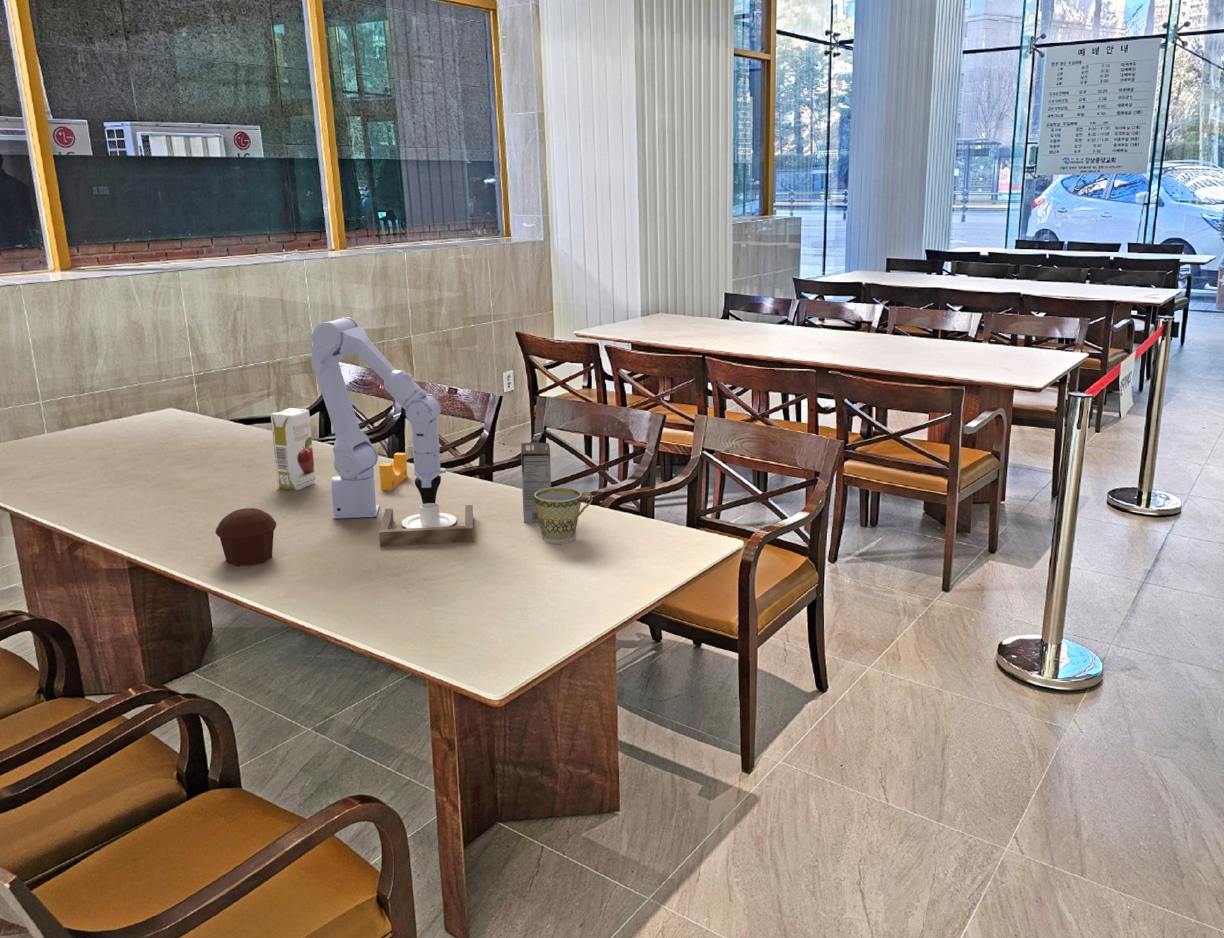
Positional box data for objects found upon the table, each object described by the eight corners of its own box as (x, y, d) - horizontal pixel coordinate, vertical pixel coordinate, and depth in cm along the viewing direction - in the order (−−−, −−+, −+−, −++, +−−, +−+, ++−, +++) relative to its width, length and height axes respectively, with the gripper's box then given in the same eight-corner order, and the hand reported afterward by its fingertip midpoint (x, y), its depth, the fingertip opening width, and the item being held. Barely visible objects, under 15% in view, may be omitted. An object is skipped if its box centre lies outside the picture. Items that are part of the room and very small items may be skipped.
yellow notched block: (391, 476, 254) (389, 452, 252) (407, 477, 253) (406, 453, 251) (374, 490, 242) (372, 465, 240) (391, 491, 242) (389, 465, 240)
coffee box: (523, 510, 227) (521, 442, 222) (550, 509, 227) (549, 441, 223) (522, 523, 218) (520, 453, 213) (552, 522, 218) (550, 452, 214)
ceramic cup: (546, 550, 202) (545, 503, 199) (527, 535, 210) (526, 490, 207) (603, 539, 207) (602, 494, 205) (582, 525, 216) (582, 482, 213)
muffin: (243, 573, 190) (237, 524, 187) (206, 562, 196) (200, 514, 193) (291, 554, 200) (287, 507, 197) (255, 544, 205) (250, 498, 202)
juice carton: (273, 488, 243) (265, 413, 238) (296, 479, 251) (289, 406, 245) (297, 492, 240) (290, 416, 235) (320, 482, 248) (313, 409, 243)
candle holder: (409, 536, 210) (408, 517, 209) (396, 520, 220) (394, 501, 219) (463, 528, 215) (462, 509, 214) (448, 512, 225) (447, 494, 224)
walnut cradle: (380, 545, 204) (379, 532, 203) (386, 521, 219) (385, 508, 218) (473, 541, 207) (472, 527, 206) (473, 517, 221) (472, 504, 221)
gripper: (443, 458, 210) (446, 518, 214) (445, 441, 224) (448, 498, 228) (410, 460, 209) (414, 520, 213) (413, 443, 223) (417, 499, 227)
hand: (429, 509), depth 220 cm, fingers closed
